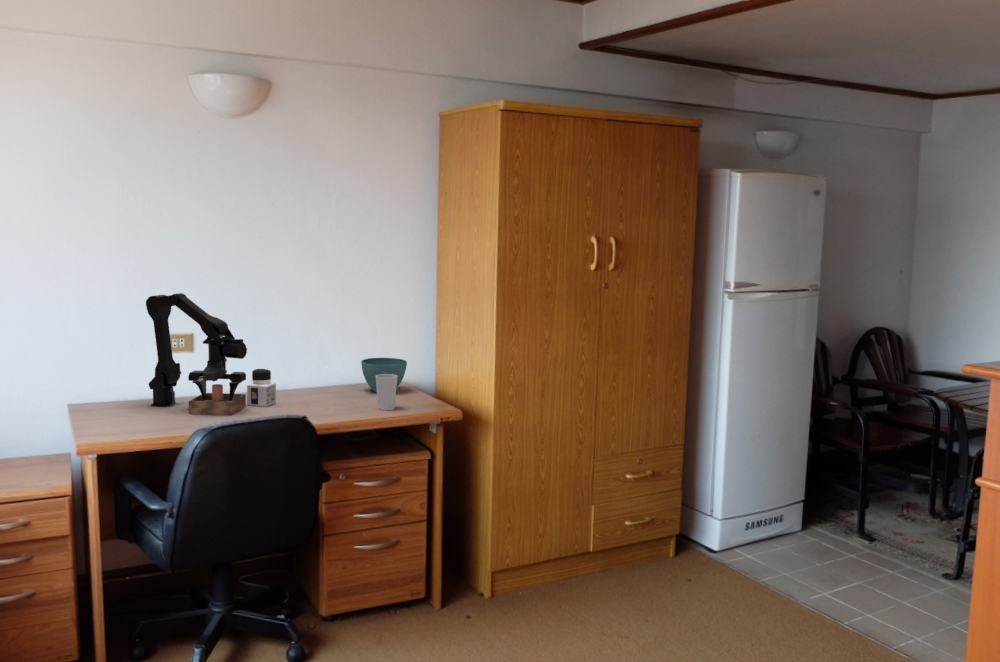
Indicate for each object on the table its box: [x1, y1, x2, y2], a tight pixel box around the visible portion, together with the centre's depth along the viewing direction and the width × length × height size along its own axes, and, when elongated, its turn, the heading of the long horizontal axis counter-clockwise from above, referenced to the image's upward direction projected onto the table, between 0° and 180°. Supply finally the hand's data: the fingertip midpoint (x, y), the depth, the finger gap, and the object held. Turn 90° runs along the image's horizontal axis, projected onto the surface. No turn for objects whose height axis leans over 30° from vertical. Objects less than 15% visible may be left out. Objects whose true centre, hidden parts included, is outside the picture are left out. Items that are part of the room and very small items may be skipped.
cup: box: [376, 374, 398, 411], centre depth 314 cm, size 8×8×12 cm
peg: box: [211, 383, 224, 402], centre depth 303 cm, size 4×4×9 cm
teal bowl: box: [360, 357, 408, 393], centre depth 346 cm, size 18×18×12 cm
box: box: [188, 392, 247, 416], centre depth 304 cm, size 15×15×4 cm
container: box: [246, 368, 277, 408], centre depth 315 cm, size 8×8×13 cm
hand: (217, 400), depth 304 cm, fingers open, 9 cm apart
